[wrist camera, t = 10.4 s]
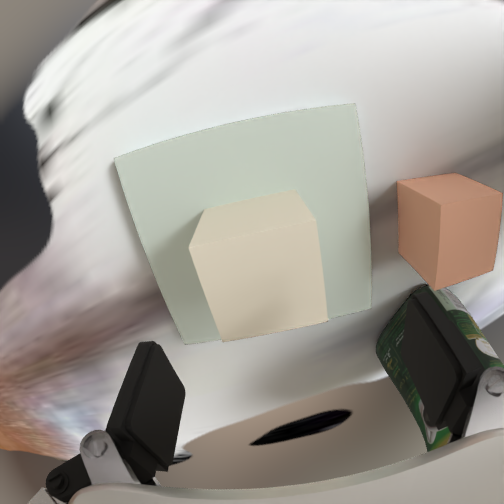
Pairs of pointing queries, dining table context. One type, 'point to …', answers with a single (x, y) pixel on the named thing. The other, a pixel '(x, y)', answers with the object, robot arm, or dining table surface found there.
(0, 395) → the dining table surface
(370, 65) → the dining table surface
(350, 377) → the dining table surface
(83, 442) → the robot arm
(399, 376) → the coffee jar
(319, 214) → the board
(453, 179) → the terracotta block
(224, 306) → the cream block
